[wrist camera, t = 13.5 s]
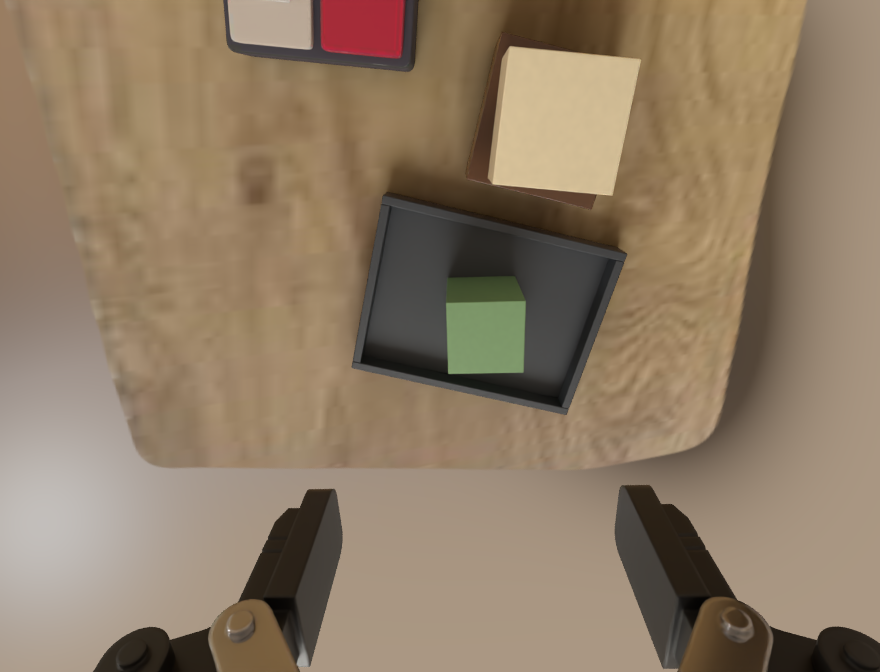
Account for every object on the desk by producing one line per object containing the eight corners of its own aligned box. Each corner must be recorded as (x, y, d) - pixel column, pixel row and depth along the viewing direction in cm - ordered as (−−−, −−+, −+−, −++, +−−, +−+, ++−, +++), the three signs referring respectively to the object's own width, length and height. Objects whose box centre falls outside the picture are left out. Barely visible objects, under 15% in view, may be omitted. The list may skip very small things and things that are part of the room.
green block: (447, 277, 37) (445, 302, 31) (515, 275, 36) (526, 300, 31) (449, 340, 38) (448, 374, 33) (513, 338, 38) (523, 372, 33)
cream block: (501, 57, 28) (509, 45, 24) (616, 69, 28) (641, 58, 24) (487, 178, 30) (492, 184, 27) (593, 188, 30) (612, 195, 27)
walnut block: (495, 45, 32) (502, 31, 27) (615, 77, 32) (639, 68, 28) (465, 174, 34) (466, 179, 30) (575, 201, 35) (591, 210, 31)
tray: (386, 191, 35) (382, 194, 33) (618, 247, 36) (627, 253, 34) (356, 357, 40) (351, 368, 38) (561, 402, 41) (566, 415, 39)
